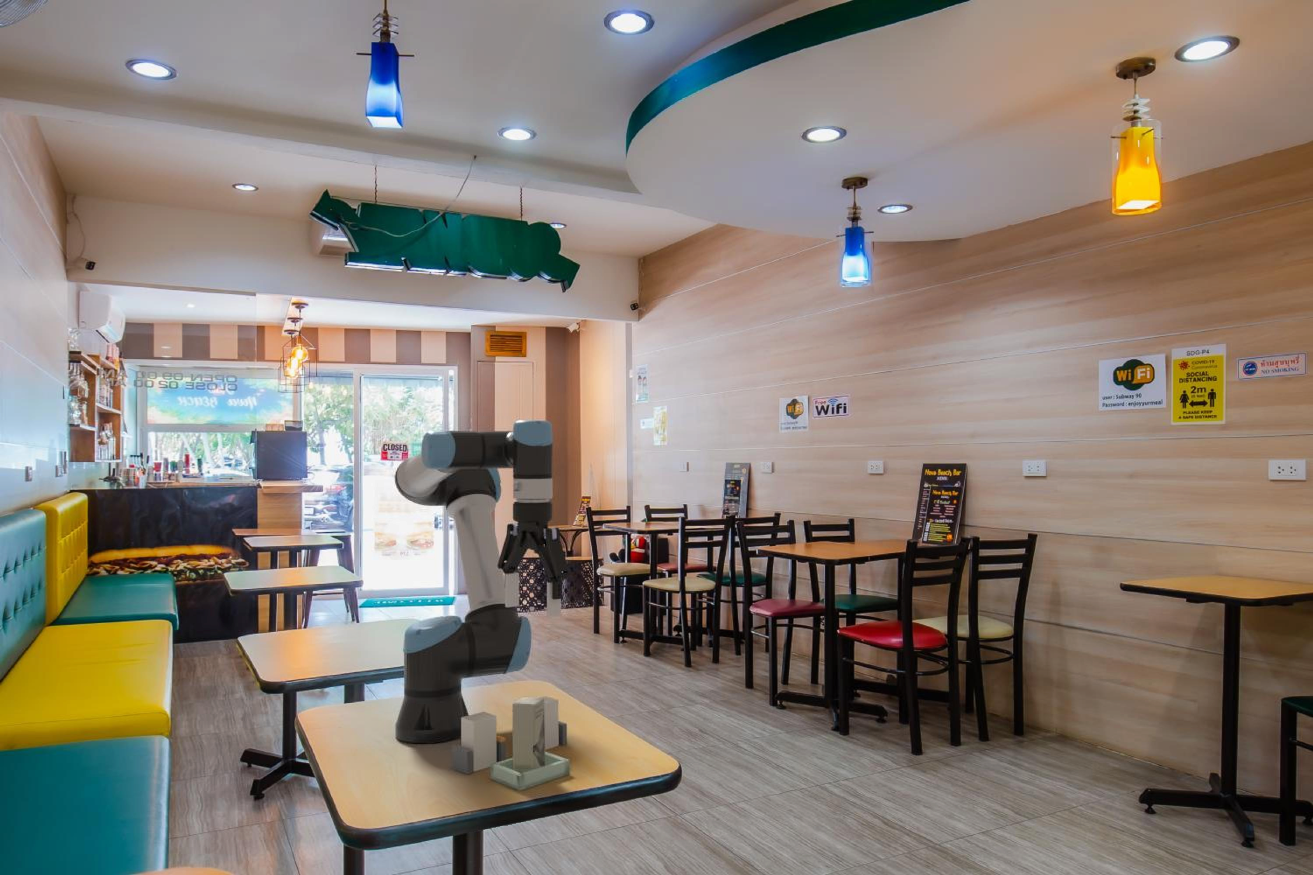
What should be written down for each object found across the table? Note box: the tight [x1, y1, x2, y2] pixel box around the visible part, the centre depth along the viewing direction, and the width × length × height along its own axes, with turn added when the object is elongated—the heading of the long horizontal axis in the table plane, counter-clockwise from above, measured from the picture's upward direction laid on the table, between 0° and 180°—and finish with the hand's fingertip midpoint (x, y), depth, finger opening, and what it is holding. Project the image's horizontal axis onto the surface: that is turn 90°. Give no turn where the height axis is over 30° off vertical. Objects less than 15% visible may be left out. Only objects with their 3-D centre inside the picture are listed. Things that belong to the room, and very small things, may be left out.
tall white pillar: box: [540, 696, 560, 751], centre depth 173 cm, size 4×5×9 cm
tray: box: [489, 751, 570, 792], centre depth 156 cm, size 9×11×2 cm
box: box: [511, 696, 546, 773], centre depth 156 cm, size 5×4×13 cm
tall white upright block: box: [460, 711, 497, 773], centre depth 162 cm, size 4×5×9 cm
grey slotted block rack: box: [451, 720, 568, 775], centre depth 168 cm, size 5×23×5 cm, turn 135°
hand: (532, 611), depth 168 cm, fingers open, 13 cm apart
